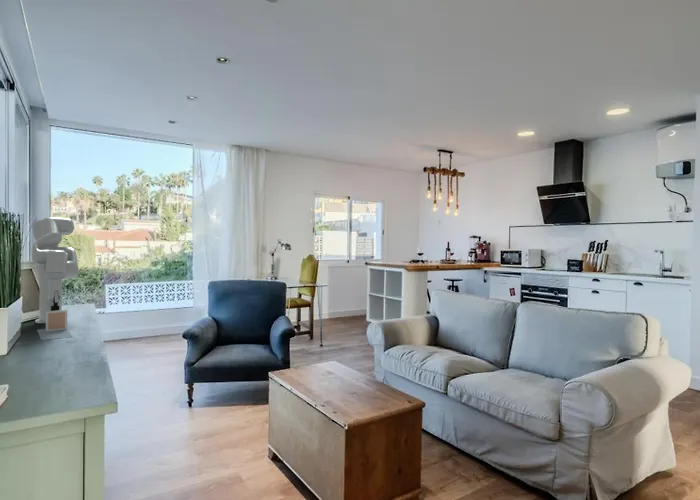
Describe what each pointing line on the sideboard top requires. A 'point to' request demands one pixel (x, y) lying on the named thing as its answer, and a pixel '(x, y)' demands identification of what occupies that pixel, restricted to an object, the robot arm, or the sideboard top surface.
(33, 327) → the sideboard top surface
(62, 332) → the mat
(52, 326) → the picture frame
